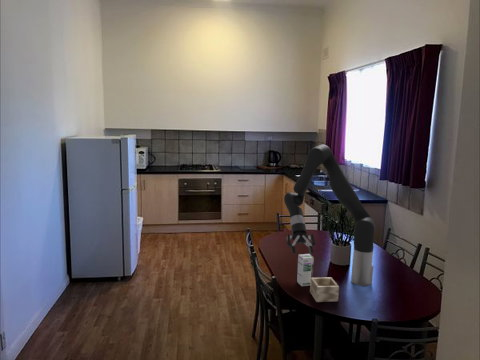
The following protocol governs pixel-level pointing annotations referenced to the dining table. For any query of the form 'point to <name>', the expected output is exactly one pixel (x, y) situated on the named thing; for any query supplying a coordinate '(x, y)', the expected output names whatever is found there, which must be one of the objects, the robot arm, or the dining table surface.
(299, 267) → the syrup box
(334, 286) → the holder
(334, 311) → the dining table surface
